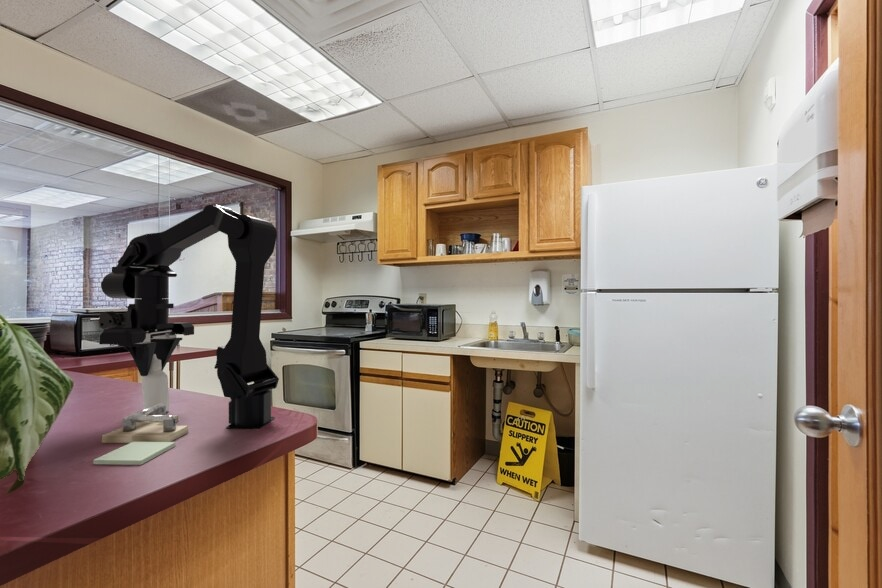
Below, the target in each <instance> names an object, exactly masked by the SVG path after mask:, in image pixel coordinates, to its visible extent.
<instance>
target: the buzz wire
mask: <svg viewBox="0 0 882 588" xmlns="http://www.w3.org/2000/svg"><path fill="white" fill-rule="evenodd" d="M152 413H154V414H152ZM177 422H179V414H167V412H166V406H165V405H163V404H157V405H154V406H152V407H149V408H146V409H144V408H143V409H141V410H139V411H136V412H133V413H131V414H128V415H127V416H125V417H124V418H122V427H120V428H116V429H114V430H112V431H110V432H107V433H105V434H102V435H101V444H102V443H105V444H106V443H107V444H110V443H111V444H116V443H117V444H129V443H131V442H174V441H175V440H177V439H179V438H181V437H182V436H184V435H187V434H188V433H189V425H177Z"/></svg>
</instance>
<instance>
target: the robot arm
mask: <svg viewBox="0 0 882 588" xmlns="http://www.w3.org/2000/svg"><path fill="white" fill-rule="evenodd" d="M218 232H221V233H223V234H225V235H227V246H228V249H229V251H230V253H231V255H232V257H233V259H234V262H235V273H234V286H233V288H234V289H233V298H232V299H233V300H232V314H231V315H232V316H231V326H230V327H231V329H230V337H229V340H228V342H227V343H226V344H225V345H222V346H221V345H220V346H217V348H216V362H215V365H214V370H215V369H216V373H217V374H216V375H217V378H218V380H219V383H220V384H219V385H220V386H221V391H222V393H223V397H224V398H229V399H230V401H229V402H228V425H226V427H225V429H226V430H227V429H228V430H229V429H230V430H231V429H232V430H260V429H262V428H263V427H265V426H266V425H268V424H269V423H271V422H272V421H273V420H275V419H276V417H275V416H272V390H273V389H277V387H278V383H279V380H280V378H279V377H278V376H277V374H276V373H275V372H274V371H273V370H272V368H271V367H270V365H268V361H267V350H266V349H265V346H264V345H263V342H262V340H261V339H260V333H261V332H260V331H261V318H262V305H263V304H262V303H263V292H264V290H263V289H264V279H265V268H266V267H265V266H266V264H267V262H268V261H269V259H270V258H271V256H272V255H273V254H274V250H275V247H276V242H277V238H278V231H277V227H275V226H274V224H273V223H272V222H271V221H269V220H266V219H263V218H258V217H255V216H252V215H247V214H243V213H239V212H237V211H236V210H235V211H234V210H233V209H232V208H230V207H226V206H222V205H218V204H215V203H211V204H207V205H206V206H205V207H204V208H203V209H202V210H200V211H198V212H197V213H194V214H193V215H191V216H189V217H188V218H186V219H184V220H181V221H180V222H178V223H177V224H175V225H173V226H171V227H169V228H168V229H166V230H163V231H160V232H152V233H145V234H141V235H139V236H136V237H134V238H132V239H131V240H130V241H129V243H128V245H127V247H126V249H125V250H124V253H122V256H121V257H120V258H119V259H118V260H117V265H116V266H112V267H111V272H109V273H107V274H106V275H104V277H103V278H102V281H101V282H100V287H101V291H102V293H103V294H104V295H105V296H107V297H109V298H110V299H119V300H120V299H123V300H124V299H126V300H127V299H128V300H129V299H134V303H129V304H128V305H127V311H126V312H123V313H116V312H115V311H103V312H101V313H99V318H98V324H99V328H100V329H101V332H100V333H99V334H98V335H99V336H98V337H99V338H98V339H99V340H98V342H99V343H98V345H117V346H118V347H123V348H124V349H125V350H127V352H129V354H130V355H131V357H132V359H133V362H134V363H135V365H136V367H137V371H138V372H139V376H141V377H142V376H147V375H148V372H149V369H150V366H151V362H152V358H153V354H156V357H157V359H159V360H161V366H162V369H161V370H162V371H163V372H164V369H165V367H166V365H167V363H168V361H169V359H170V358H171V356H172V354H173V353H174V351H175V349H176V348H177V346H178V345H179V343H180V341H182V340H183V337H177V335H183V336H187V337H188V336H190V335H191V336H192V335H195V326H194V324H192V323H191V321H190V322H182V321H181V322H179V321H178V322H177V321H176V322H175V321H174V322H173V321H172V322H170V321H169V319H170V317H169V315H170V314H169V313H170V311H169V310H170V309H174V307H175V305H174V304H175V303H169V302H170V301H169V297H170V296H169V295H170V293H169V292H170V289H169V287H170V286H169V285H170V284H169V283H170V281H169V278H176V277H178V274H177V272H175V271H174V270H172V269H171V268H170V266H172V264H174V263H175V262H176V261H178V260H179V259H180V258H181V256H182V252H183V251H185V250H186V249H189V248H190V247H191V246H193V245H196V244H198V243H200V242H201V241H204V240H205V239H207V238H210V237H211V236H213V235H216V234H217V233H218Z"/></svg>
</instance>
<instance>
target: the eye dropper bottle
mask: <svg viewBox="0 0 882 588" xmlns="http://www.w3.org/2000/svg"><path fill="white" fill-rule="evenodd" d="M161 369H162V366H161V360H159V359H157V357H156V354H153V358H152V362H151V366H150V369H149V372H148V375H147V376H141V382H142V383H141V385H142V387H141V388H142V402H143V410H144V409H146V408H149V407H152V406H154V405H157V404H163V405H165V406H166V413H167V412H169V411H170V409H171V408H170V407H171V405H170V390H169V377H168V374H167V373H166V372H165V371H164V370H163V371H162V370H161ZM151 415H154V413H152V414H151Z"/></svg>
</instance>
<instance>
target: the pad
mask: <svg viewBox="0 0 882 588" xmlns="http://www.w3.org/2000/svg"><path fill="white" fill-rule="evenodd" d="M175 447H176V441H171V442H131V443H126V444H125V445H122V446H120V447H119V448H116V449H114V450H112V451H109V452H108V453H105V454H104V455H101V456H99V457H97V458H95V459H93V465H121V466H122V465H125V466H126V465H128V466H129V465H132V466H134V465H136V466H137V465H140V466H142V465H143V464H145V463H147V462H149V461H150V460H152V459H154V458H156V457H158V456H159V455H161V454H163V453H165V452H167V451H169V450H171V449H172V448H175Z"/></svg>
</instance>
